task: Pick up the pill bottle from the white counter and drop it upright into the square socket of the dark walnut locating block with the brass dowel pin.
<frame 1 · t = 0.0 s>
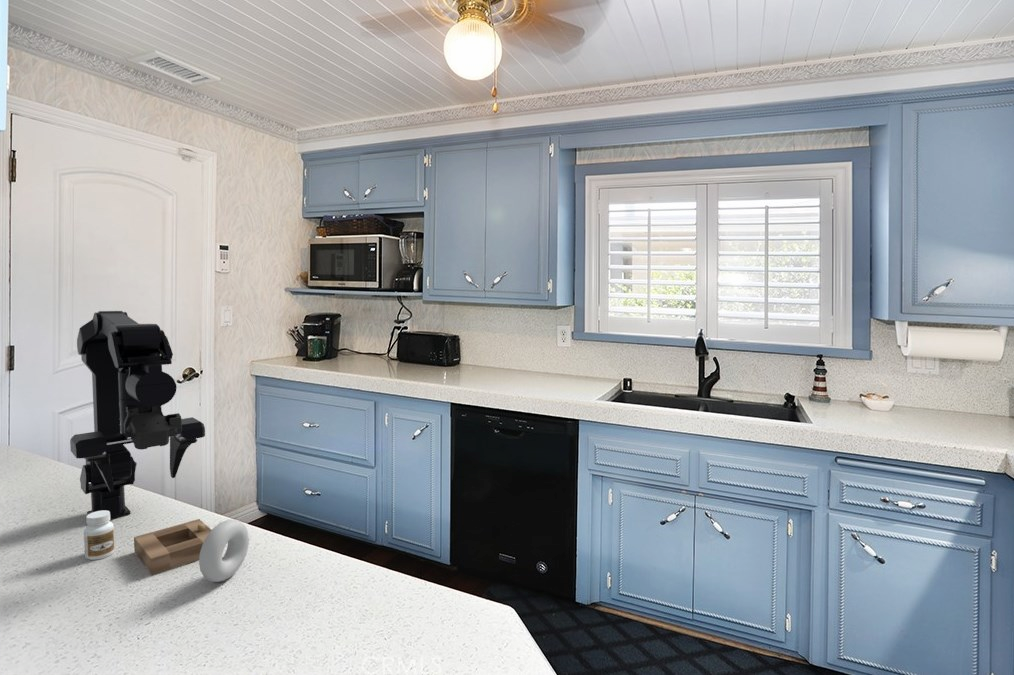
hand: (143, 483, 94), 15 cm above the counter, fingers open, 9 cm apart
donut: (225, 579, 91), on the counter
socket block: (177, 552, 99), on the counter
pill bottle: (100, 555, 98), on the counter
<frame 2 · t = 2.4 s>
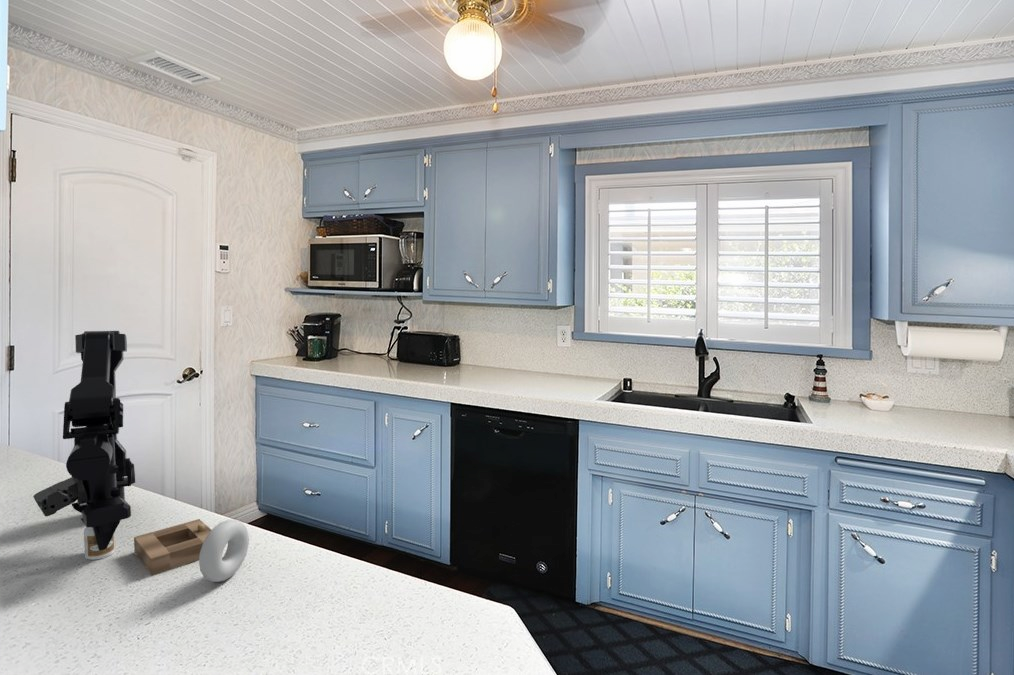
hand: (99, 544, 98), 2 cm above the counter, fingers closed on pill bottle, 4 cm apart
pill bottle: (100, 555, 98), on the counter, touching gripper
everything else where it was.
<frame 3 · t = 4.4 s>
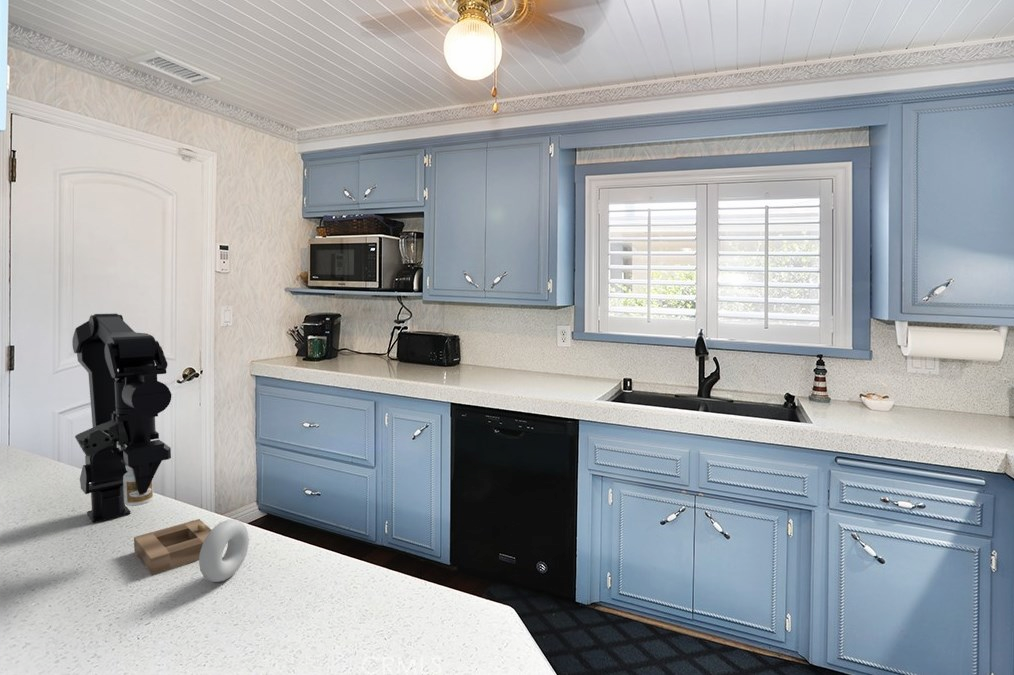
hand: (139, 489, 97), 12 cm above the counter, fingers closed on pill bottle, 4 cm apart
pill bottle: (139, 502, 97), point 10 cm above the counter, touching gripper
everything else where it was.
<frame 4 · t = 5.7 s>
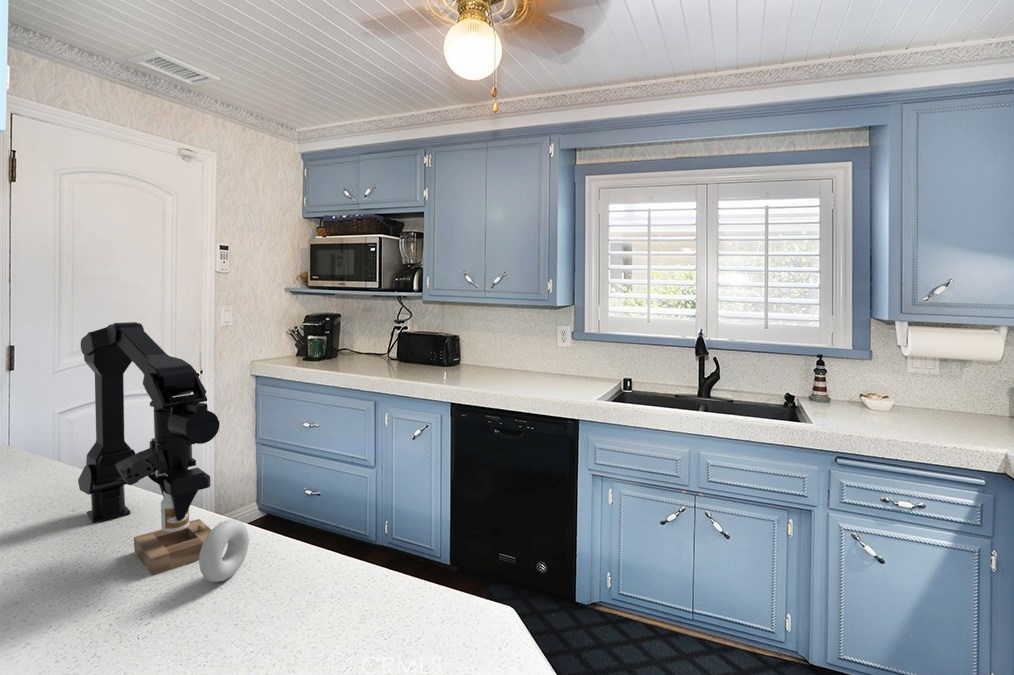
hand: (175, 515, 99), 7 cm above the counter, fingers closed on pill bottle, 4 cm apart
pill bottle: (175, 528, 99), point 5 cm above the counter, touching gripper
everything else where it was.
when the fingers open (4 cm above the counter, at t = 6.6 s): pill bottle drops 2 cm, resting in socket block.
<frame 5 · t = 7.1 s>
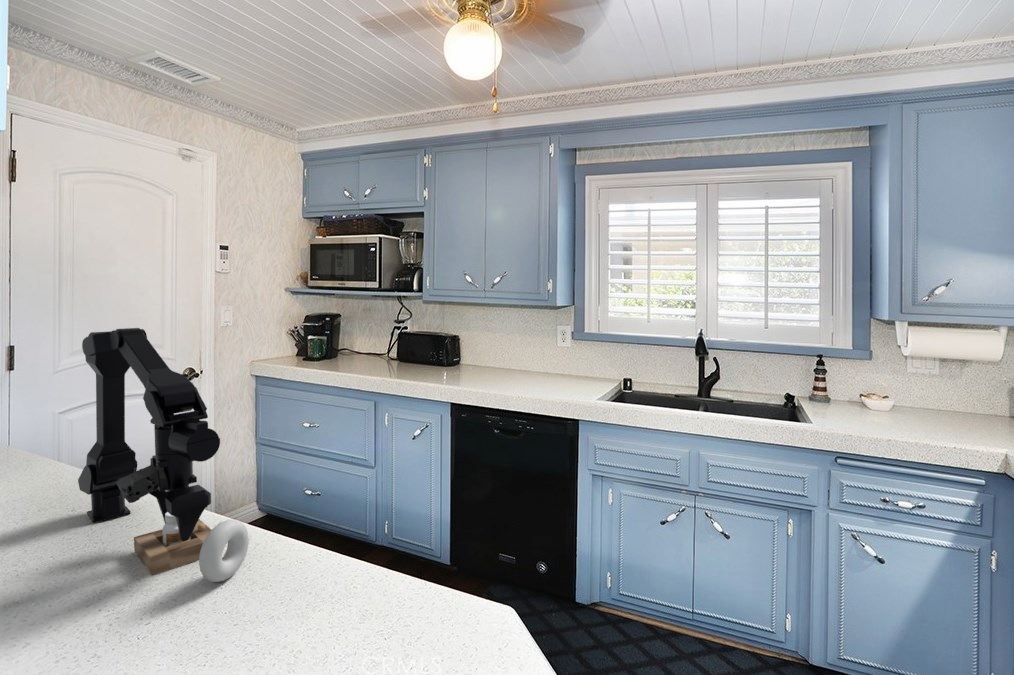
hand: (176, 532, 99), 4 cm above the counter, fingers open, 9 cm apart
pill bottle: (177, 553, 99), resting in socket block
everything else where it was.
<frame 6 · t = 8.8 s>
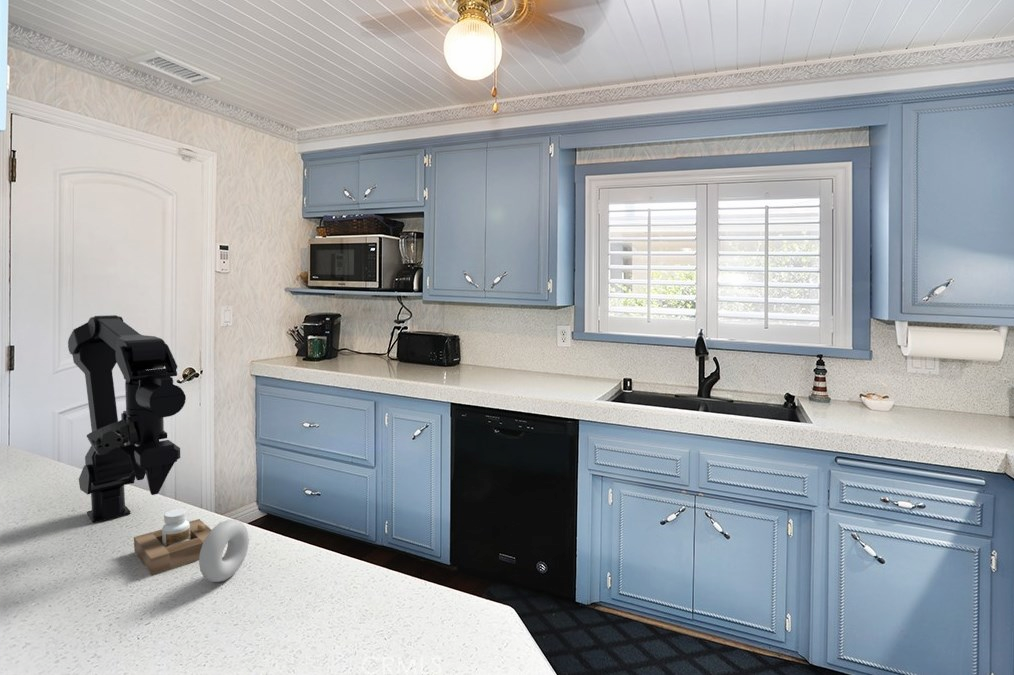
hand: (147, 486, 101), 11 cm above the counter, fingers open, 9 cm apart
nothing on the counter moved.
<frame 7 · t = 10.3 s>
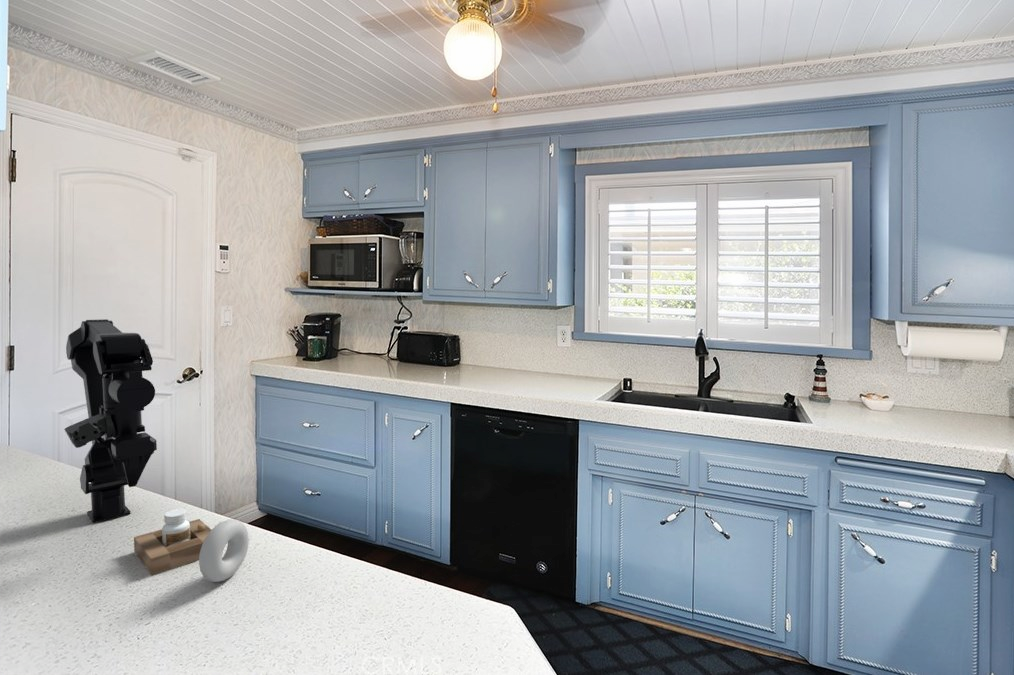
hand: (126, 479, 102), 12 cm above the counter, fingers open, 9 cm apart
nothing on the counter moved.
at the end: pill bottle 0.2 cm off-centre on the socket block, point 0.0 cm above the socket block's base; pill bottle tilted 0°; the gripper is holding nothing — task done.
